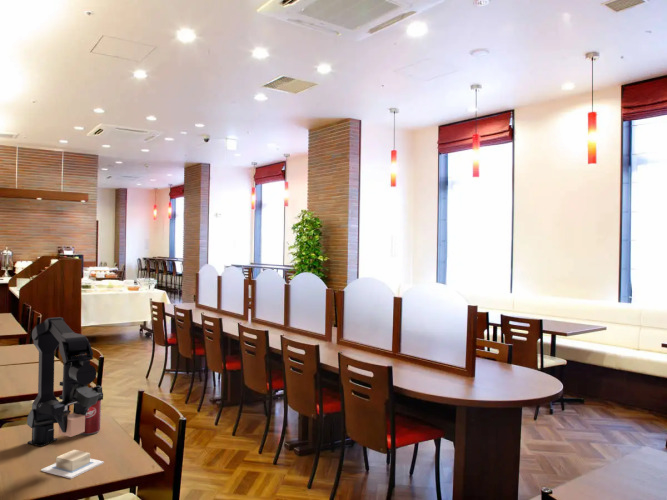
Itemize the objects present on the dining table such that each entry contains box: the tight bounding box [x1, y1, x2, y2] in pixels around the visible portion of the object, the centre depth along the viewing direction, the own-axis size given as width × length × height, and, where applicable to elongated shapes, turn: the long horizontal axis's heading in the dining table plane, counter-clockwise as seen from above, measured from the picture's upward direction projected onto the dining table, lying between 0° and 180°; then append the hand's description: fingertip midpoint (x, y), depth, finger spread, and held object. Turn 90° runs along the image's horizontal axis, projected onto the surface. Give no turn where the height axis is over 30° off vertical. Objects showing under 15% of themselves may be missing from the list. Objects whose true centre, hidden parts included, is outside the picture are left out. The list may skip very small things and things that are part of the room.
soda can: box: [79, 400, 102, 436], centre depth 184 cm, size 7×7×12 cm
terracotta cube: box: [58, 412, 85, 438], centre depth 155 cm, size 5×5×5 cm
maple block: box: [55, 449, 91, 471], centre depth 155 cm, size 6×6×3 cm
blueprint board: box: [40, 457, 105, 479], centre depth 155 cm, size 12×12×1 cm
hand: (71, 429), depth 155 cm, fingers closed on terracotta cube, 5 cm apart
